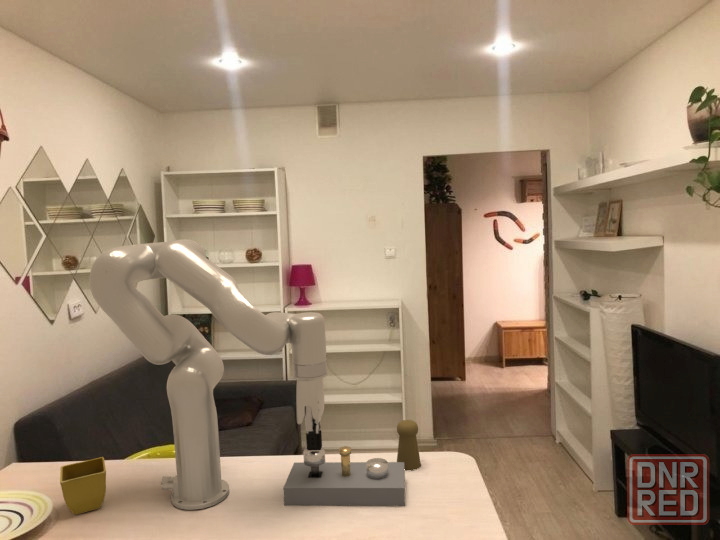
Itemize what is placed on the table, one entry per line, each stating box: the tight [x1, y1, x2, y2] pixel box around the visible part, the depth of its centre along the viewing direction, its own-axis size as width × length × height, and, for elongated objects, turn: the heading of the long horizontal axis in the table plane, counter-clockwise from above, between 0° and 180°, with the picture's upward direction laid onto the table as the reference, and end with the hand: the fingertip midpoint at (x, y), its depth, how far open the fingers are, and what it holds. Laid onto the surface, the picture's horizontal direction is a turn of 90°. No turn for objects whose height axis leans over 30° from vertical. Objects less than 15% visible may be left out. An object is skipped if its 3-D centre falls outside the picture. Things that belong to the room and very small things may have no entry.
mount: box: [283, 461, 406, 507], centre depth 123 cm, size 26×12×4 cm, turn 86°
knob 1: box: [303, 447, 326, 478], centre depth 123 cm, size 5×5×6 cm
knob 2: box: [366, 457, 389, 479], centre depth 122 cm, size 5×5×6 cm
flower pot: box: [59, 456, 107, 516], centre depth 120 cm, size 9×9×9 cm
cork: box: [396, 419, 422, 471], centre depth 134 cm, size 6×6×11 cm
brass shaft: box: [338, 445, 352, 477], centre depth 122 cm, size 3×3×6 cm
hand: (314, 448), depth 122 cm, fingers closed
